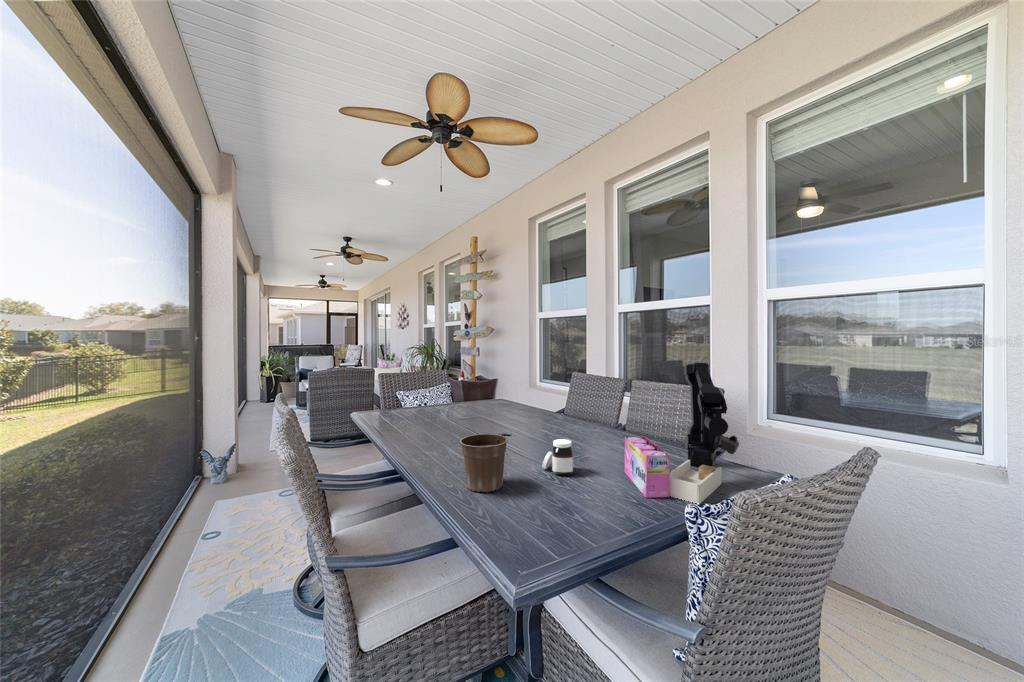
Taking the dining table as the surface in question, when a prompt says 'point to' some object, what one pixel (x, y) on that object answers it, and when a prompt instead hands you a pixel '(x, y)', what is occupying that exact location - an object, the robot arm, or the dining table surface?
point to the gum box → (647, 466)
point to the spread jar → (560, 457)
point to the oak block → (705, 471)
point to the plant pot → (484, 461)
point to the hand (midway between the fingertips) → (710, 472)
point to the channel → (693, 483)
